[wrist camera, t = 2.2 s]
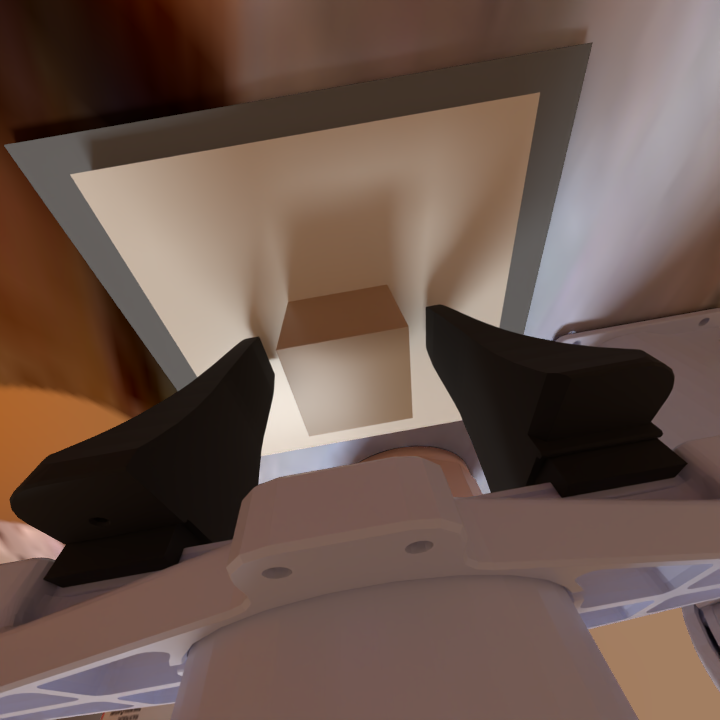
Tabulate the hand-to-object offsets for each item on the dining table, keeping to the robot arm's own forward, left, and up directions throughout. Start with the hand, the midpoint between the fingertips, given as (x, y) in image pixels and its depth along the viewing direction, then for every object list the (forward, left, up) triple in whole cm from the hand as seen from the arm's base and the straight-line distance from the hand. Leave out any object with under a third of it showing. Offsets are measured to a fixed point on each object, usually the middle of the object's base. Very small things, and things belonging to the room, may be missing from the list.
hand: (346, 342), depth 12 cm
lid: (0, 0, -2) cm, 2 cm away
